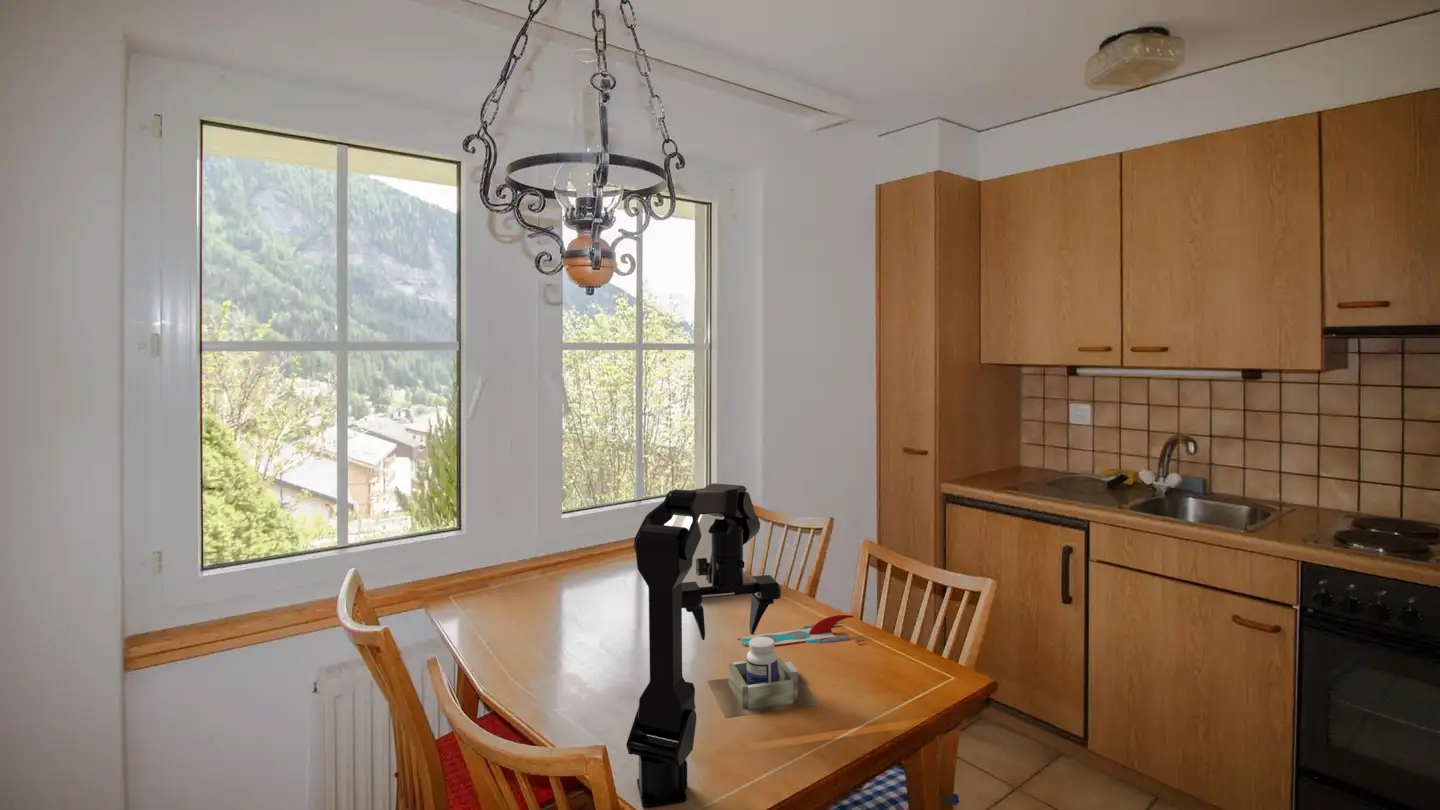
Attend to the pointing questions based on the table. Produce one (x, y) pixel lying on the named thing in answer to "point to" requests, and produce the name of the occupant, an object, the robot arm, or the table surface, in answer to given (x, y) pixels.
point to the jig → (760, 692)
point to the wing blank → (792, 669)
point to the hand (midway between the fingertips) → (727, 636)
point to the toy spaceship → (807, 633)
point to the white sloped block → (703, 546)
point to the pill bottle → (761, 661)
